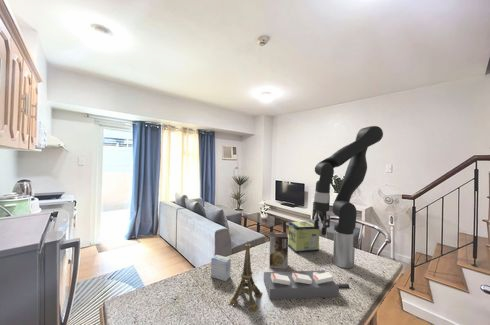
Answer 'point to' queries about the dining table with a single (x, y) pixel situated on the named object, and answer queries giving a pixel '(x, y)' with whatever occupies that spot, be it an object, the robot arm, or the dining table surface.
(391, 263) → the dining table surface
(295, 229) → the protein box
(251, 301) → the eiffel tower
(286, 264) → the coffee box
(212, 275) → the medicine box
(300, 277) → the block
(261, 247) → the dining table surface
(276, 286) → the switch panel
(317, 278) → the rocker
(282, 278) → the block
